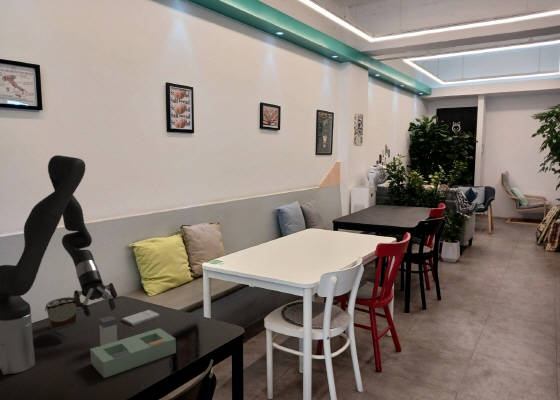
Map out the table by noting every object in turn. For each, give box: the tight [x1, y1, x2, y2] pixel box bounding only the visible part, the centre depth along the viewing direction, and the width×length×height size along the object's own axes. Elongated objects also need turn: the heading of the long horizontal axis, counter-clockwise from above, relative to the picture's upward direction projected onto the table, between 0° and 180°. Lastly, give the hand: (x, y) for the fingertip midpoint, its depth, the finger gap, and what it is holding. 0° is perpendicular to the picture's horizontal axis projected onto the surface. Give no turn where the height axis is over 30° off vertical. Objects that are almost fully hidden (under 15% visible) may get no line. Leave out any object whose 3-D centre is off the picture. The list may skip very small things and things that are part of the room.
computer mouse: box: [33, 329, 67, 347], centre depth 155 cm, size 6×11×4 cm, turn 101°
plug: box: [98, 315, 118, 346], centre depth 150 cm, size 4×4×10 cm
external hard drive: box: [121, 309, 160, 326], centre depth 176 cm, size 2×8×12 cm
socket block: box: [89, 327, 177, 379], centre depth 141 cm, size 24×12×5 cm, turn 132°
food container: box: [44, 296, 78, 330], centre depth 170 cm, size 12×6×10 cm, turn 134°
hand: (101, 312), depth 154 cm, fingers open, 8 cm apart
